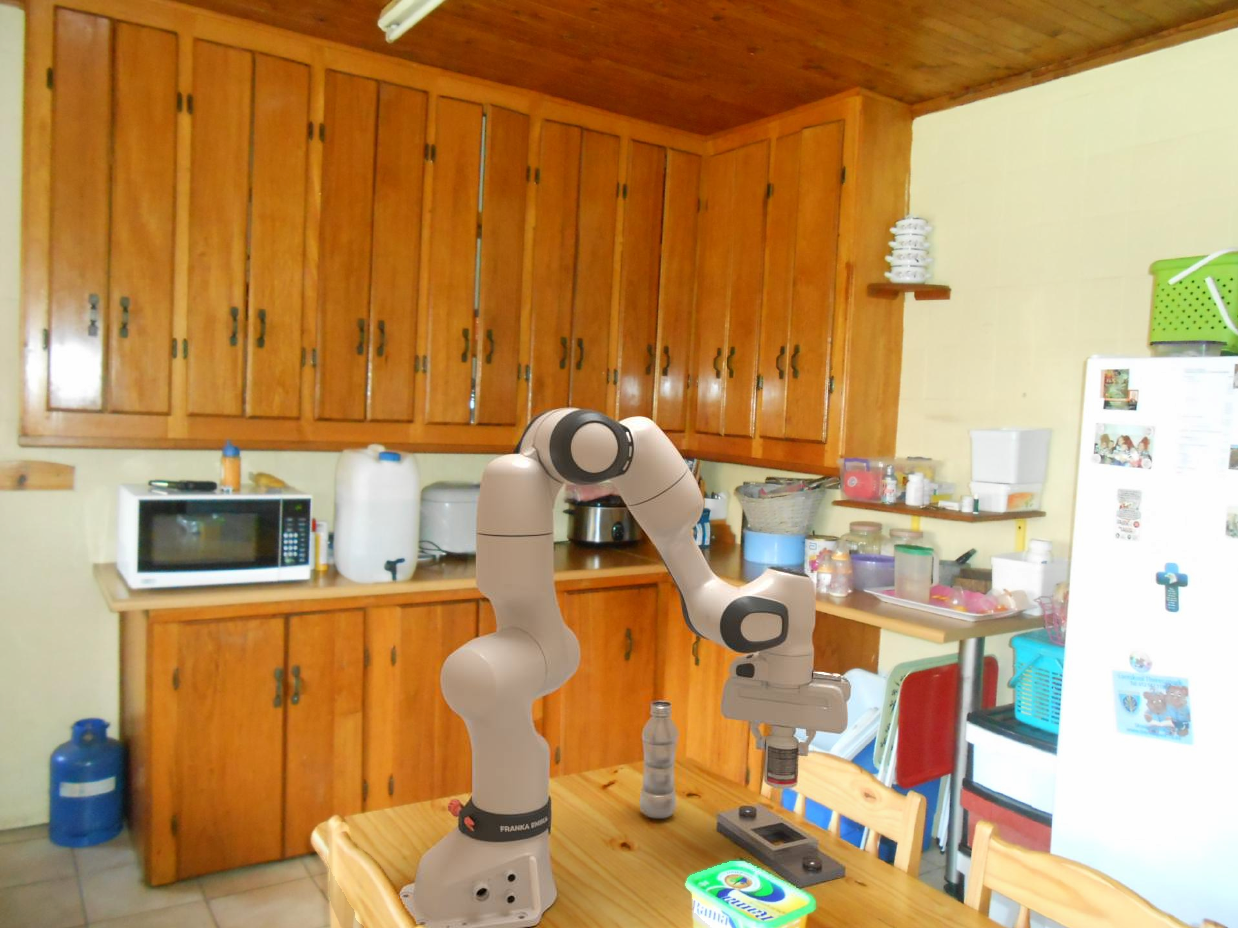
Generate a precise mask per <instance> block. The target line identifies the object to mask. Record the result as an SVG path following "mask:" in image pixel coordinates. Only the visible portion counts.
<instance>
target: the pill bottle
mask: <svg viewBox="0 0 1238 928" xmlns="http://www.w3.org/2000/svg"><path fill="white" fill-rule="evenodd" d="M769 730H770V733H769V735H767V736H766V737H767V738H766V742H765V750H764V768H763V769H764V771H763V772H764V773H763V775H764V777H763V782H764V783H765V784H766V785H768V786H770V787H772V788H776V789H785V790H787V789H792V788H795V787H797V785H798V777H799V775H798V774H799V757H800V755H798V751H799V750H798V745H799V742H800V740H799V739H798V738H797V737H796V736H795V735H796V731H797V728H792V727H785V726H778V725H770V728H769Z"/></svg>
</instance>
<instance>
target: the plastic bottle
mask: <svg viewBox="0 0 1238 928" xmlns="http://www.w3.org/2000/svg"><path fill="white" fill-rule="evenodd" d="M672 706H673V705H672V702H669V701H666V700H655V701H652V702H651V703H650V712H649V715H650V718H649V719H648V720H647V722H646V723H645V724H644V726H643V729H642V733H641V739H642V740H641V741H642V749H643V763H644V764H643V776H642V777H643V778H642V787H641V791H640V795H639V796H640V797H639V806H640V811H641V812H642V814H643V815H644V816H645V817H646V818H649V819H655V820H664V819H668V818H670V817H671V816H673V814H674V813H675V811H676V808H677V807H676V806H677V795H676V790H675V760H676V759H675V758H676V752H677V747H678V739H679V733H678V732H679V731H678V729H677V726H676V724H675V723H674V721H673V720H672V718H671V716H672V715H673V711H672Z"/></svg>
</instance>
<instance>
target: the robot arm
mask: <svg viewBox="0 0 1238 928" xmlns="http://www.w3.org/2000/svg"><path fill="white" fill-rule="evenodd" d="M606 481H609V482H610V483H611V484H612V485H613V486H614V487H615V488H616V490H617V492H618V494H619V495H620V497H621V499H622V500H623V502H624V504H625V505H626V507H627V509H628V510H629V512H630V513H631V516H633V518H634V519H635V521H636V522H637V524H638V525H639V527H640V528H641V529H642V530H643V531H644V533H645V534H646V535H647V536H648V538H649V539H650V541H651V543H652V544H653V546H654V548H655V549H656V552H657V554H658V556H659V557H660V559H661V560H662V563H663V564H664V567H665V568H666V570H667V572H668V574H669V575H670V577H671V579H672V581H673V583H674V585H675V587H676V588H677V591H678V594H679V597H680V598H679V599H680V604H681V605H680V606H681V611H682V612H681V613H682V617H683V620H684V622H685V624H686V626H687V628H688V629H689V630H690V631H691V632H692V634H694V635H696V636H698V638H702V639H706V640H708V641H711V642H713V643H715V644H717V645H719V646H721V647H723V648H726V650H727V649H728V650H730V651H733V652H735V653H739V654H741V655H739V656H737V657H736V658H734V659H733V660H732V662H731V663H730V664H729V668H728V669H729V671H728V672H729V675H730V676H729V677H728V678H727V679H726V680H725V682H724V685H723V689H722V694H721V699H720V700H721V701H720V713H721V715H722V716H723V718H725V719H729V720H735V721H742V722H749V729H750V731H751V733H752V735H753V736H754V737H753V738H755V749H756V750H762V751H765V742H766V738H767V736H763V735H762V733H761V731H760V729H759V728H760V726H761V724H763V725H770V726H771V725H778V726H785V727H792V728H796V729H801V730H805V736H806V737H807V738H806V740H805V741H804V742H803V741H799V745H798V750H799V751H798V755H799V757H801V756H802V757H808V755H809V752H810V751H809V749H810V748H809V746H810V744H811V743H812V742H813V740H814V739H815V738H816V735H817V732H822V733H823V732H824V733H829V734H837V735H840V734H843V733H844V732H845V731H846V730H847V728H848V723H849V722H848V721H849V718H848V717H849V716H848V715H849V713H848V701H849V700H850V699H851V689H852V687H851V686H852V685H851V682H850V681H849V680H848V678H846V677H844V676H843V675H842V674H840V673H838V672H837V673H836V672H833V673H831V672H825V671H819V670H814V659H815V657H814V655H815V646H814V644H813V633H814V629H815V627H816V610H817V609H816V592H815V591H816V590H815V587H814V585H815V584H814V581H813V579H812V578H811V577H810V575H808V574H807V573H805V572H803V571H799V570H797V569H795V570H794V569H791V568H787V567H782V566H769V567H767V568H766V569H765V571H764V572H763V573H762V574H760V576H758V577H757V578H755V579H754V580H752V581H750V582H749V583H747V584H744V585H742V586H738V587H737V586H734V585H731V584H729V583H728V582H726V581H725V580H723V579H721V578H720V577H718V576H717V575H716V574H715V573H714V572H713V571H712V569H711V568H710V566H709V564H708V562H707V560H706V558H705V557H704V554H703V552H702V550H701V549H700V546H699V545H698V543H697V541H696V539H695V537H694V534H693V528H695V527H696V525H697V524H698V522H699V521H700V519H701V517H702V515H703V513H704V512H703V511H704V506H705V501H704V500H705V499H704V498H703V494H702V492H701V489H700V487H699V484H698V482H697V480H696V477H695V476H694V474H693V473H692V471H691V469H690V468H689V466H688V464H687V463H686V460H684V458H683V457H682V455H681V453H680V452H679V450H678V449H677V448H676V446H675V445H674V444H673V442H672V441H671V439H670V438H668V436H667V435H666V434H665V432H664V431H663V430H662V429H661V428H660V427H659V426H658V425H657V423H655V421H653V420H652V419H650V418H648V417H646V416H639V415H638V416H631V417H626V418H625V419H622V420H620V421H616V420H615V419H613V418H611V417H610V416H608V415H606V414H604V413H603V412H600V411H597V410H595V409H594V410H593V409H588V408H584V409H583V408H582V409H581V408H577V407H561V408H557V409H549V410H546V411H544V412H541V413H540V414H538V415H536V416H535V417H534V418H532V420H531V421H530V422H529V423H528V424H527V425H526V428H524V431H523V433H522V436H521V437H520V439H519V441H518V443H517V445H515V448H514V449H513V451H512V453H511V454H509V453H508V454H505V455H501V456H499V457H498V456H497V457H496V458H494V459H493V460H491V461H490V462H489V463H488V464H487V465H486V466H485V468H484V469H483V472H482V476H481V481H480V485H479V491H478V499H477V507H476V523H475V584H476V588H477V589H478V591H479V592H480V593H481V594H482V595H483V596H484V597H485V598H487V599H488V600H489V601H490V604H491V605H492V609H493V612H494V616H495V620H496V631H495V632H492V633H491V632H490V633H489V634H485V635H481V636H478V637H474V638H473V639H471V640H469V641H467V642H466V643H464V644H463V645H461V646H460V647H459V648H457V649H456V650H455V651H453V652H452V653H451V654H450V655H448V656H447V658H446V659H445V661H444V662H443V664H442V667H441V671H440V679H439V680H440V688H441V692H442V695H443V698H444V701H445V703H446V704H447V705H448V706H449V708H450V709H451V710H452V711H453V712H454V713H455V714H456V715H458V716H460V717H461V719H462V720H463V722H464V725H465V727H466V729H467V732H468V736H469V740H470V748H471V760H472V761H471V767H472V768H471V771H472V773H471V774H472V775H471V796H470V798H469V799H468V801H467V802H466V803H465V804H463V803H462V802H461V801H460V800H459V799H458V798H452V799H451V800H449V802H448V803H447V807H446V808H447V810H448V812H449V813H450V814H451V815H452V816H453V817H455V818H458V819H457V826H456V827H454V828H453V829H452V830H451V831H450V832H449V833H447V835H445V836H444V837H443V838H441V839H440V840H439V841H438V842H437V843H435V844H434V845H433V846H432V847H430V848H429V850H427V851H426V852H425V853H424V854H423V855H422V857H421V858H420V860H419V863H418V866H417V869H416V875H415V880H414V882H413V883H409V884H407V885H404V886H403V887H402V888H401V890H400V891H399V894H398V896H399V895H400V898H401V899H402V902H403V904H404V905H405V908H407V910H408V911H409V912H410V914H411V915H412V916H413V917H414V919H415V921H416V924H420V925H423V926H425V927H426V928H527V927H533V926H536V925H538V924H539V922H540V921H541V919H542V915H543V913H544V912H546V911H547V910H548V909H549V908H550V907H551V906H553V904H554V903H555V901H556V899H557V897H558V890H557V887H556V883H555V880H554V875H553V869H552V861H551V853H550V852H551V851H550V837H549V835H550V834H551V831H552V830H551V829H552V819H553V817H552V816H553V815H552V814H553V811H552V798H551V796H550V793H549V792H550V764H551V763H550V760H551V750H550V746H549V743H548V741H547V739H546V738H544V736H542V735H541V734H540V733H538V732H537V730H536V726H535V723H534V717H533V705H534V702H535V701H536V700H538V699H540V698H542V697H544V696H546V695H549V694H551V693H553V692H555V691H557V690H558V689H560V688H561V687H562V686H563V685H564V684H565V683H567V682H568V681H569V680H570V679H571V678H572V677H573V676H574V675H575V674H576V672H577V670H578V669H579V665H580V662H581V657H582V656H581V653H582V652H581V648H580V647H581V646H580V644H579V643H580V642H579V639H578V638H577V636H576V634H575V633H574V631H572V629H571V628H569V626H568V625H567V624H566V622H565V620H564V618H563V615H562V613H561V608H560V606H559V605H560V604H559V601H558V597H557V594H556V593H557V592H556V587H555V586H556V585H555V565H554V564H555V563H554V562H555V560H554V559H555V555H554V553H555V547H554V546H555V545H554V544H555V541H554V540H555V539H554V538H555V537H554V536H555V534H554V533H555V532H554V530H555V528H554V509H555V503H556V500H557V497H558V494H559V493H560V490H561V489H562V488H563V486H564V485H572V486H573V485H576V486H577V485H578V486H593V485H597V484H600V483H603V482H606Z"/></svg>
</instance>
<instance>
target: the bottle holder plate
mask: <svg viewBox="0 0 1238 928" xmlns="http://www.w3.org/2000/svg"><path fill="white" fill-rule="evenodd" d="M738 807H739V808H734V809H728V810H724V811H718V812H717V813H716V814H717V815H716V820H717V821H716V831H718V832H719V833H721V834H722V835H723V836H725V837H727V838H728V839H729V840H730V841H732V842H733V843H734V844H736V845H737V846H739V847H740V848H741V849H743V850H745V851H746V852H747V853H749V854H750V855H751V856H753V857H755V859H757V860H758V861H759V862H761V863H763V864H764V865H766V866H767V867H768V868H770V869H772V870H773V871H774V872H775V873H777V874H779V875H780V876H781V877H782V878H784V879H785V880H787V881H788V882H789V883H791V884H793V885H794V886H795V885H796V886H795V887H797V886H798V887H799V888H798V887H797V888H798V889H801V888H806V887H809V886H814V885H817V884H816V883H818V884H821V882H822V883H824V882H823V881H825V882H828V880H829V881H831V880H830V879H833V880H836V879H835V878H837V879H840V878H839V877H841V878H844V877H843V876H845V877H846V866H845V865H843V864H842V863H840V862H838V861H837V860H835V859H834V858H832V857H830V856H829V855H828V854H826V853H825V852H823V851H821V850H820V849H819V840H818V839H817V838H816V837H814V836H813V835H811V834H809V833H808V832H806V831H804V830H803V829H801V828H800V827H798V826H797V825H794V824H793V823H791V822H790V821H788V820H787V819H785V818H783V817H782V816H780V815H778V814H777V813H776V812H774V811H773V810H771V809H769V808H767V807H766V806H764V805H763V804H761V803H758V804H754V805H742V806H738ZM778 841H782V842H784V843H782V844H778V845H774V844H772V843H774V842H778Z"/></svg>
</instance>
